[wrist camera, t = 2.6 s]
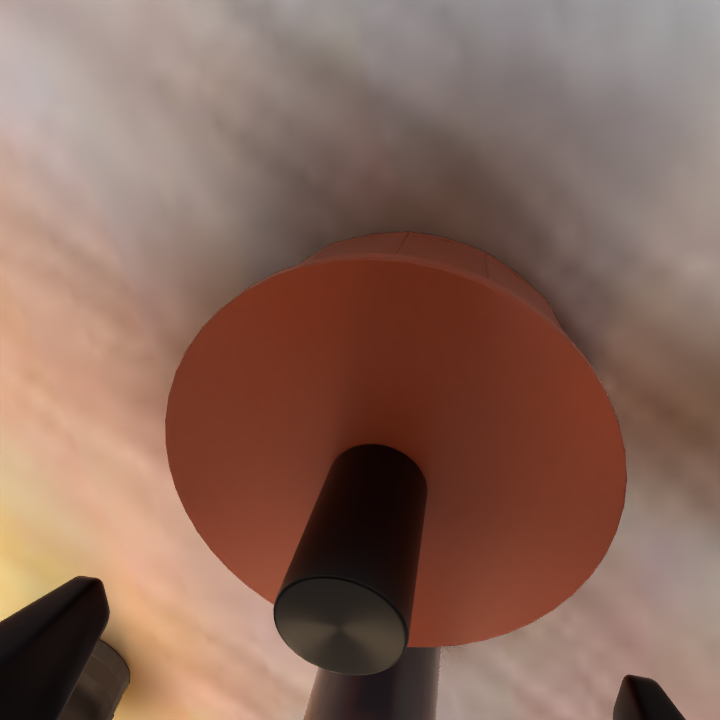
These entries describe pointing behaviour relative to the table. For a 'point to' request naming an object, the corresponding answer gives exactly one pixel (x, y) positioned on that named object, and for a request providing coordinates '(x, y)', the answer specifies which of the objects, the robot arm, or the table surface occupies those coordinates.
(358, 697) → the spice jar
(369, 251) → the pot
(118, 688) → the beverage cup
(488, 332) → the lid
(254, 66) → the table surface
